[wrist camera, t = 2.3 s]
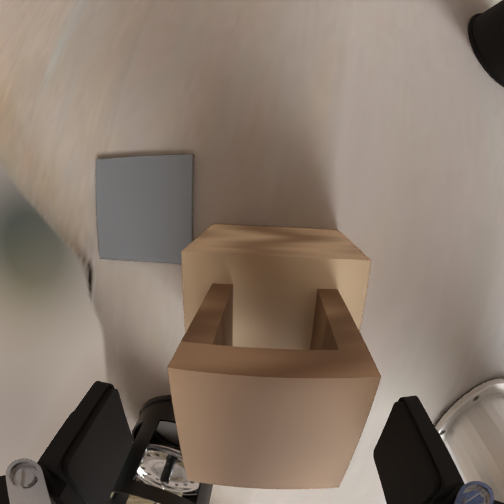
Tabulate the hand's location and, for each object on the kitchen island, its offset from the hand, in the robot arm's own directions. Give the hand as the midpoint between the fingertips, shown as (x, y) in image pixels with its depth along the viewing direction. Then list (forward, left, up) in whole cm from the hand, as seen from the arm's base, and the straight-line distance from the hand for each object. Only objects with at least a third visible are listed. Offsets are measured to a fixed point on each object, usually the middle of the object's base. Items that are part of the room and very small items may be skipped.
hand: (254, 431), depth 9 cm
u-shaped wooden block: (-1, 0, -7) cm, 7 cm away
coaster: (+9, -5, -15) cm, 18 cm away
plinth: (-1, 0, -15) cm, 15 cm away
